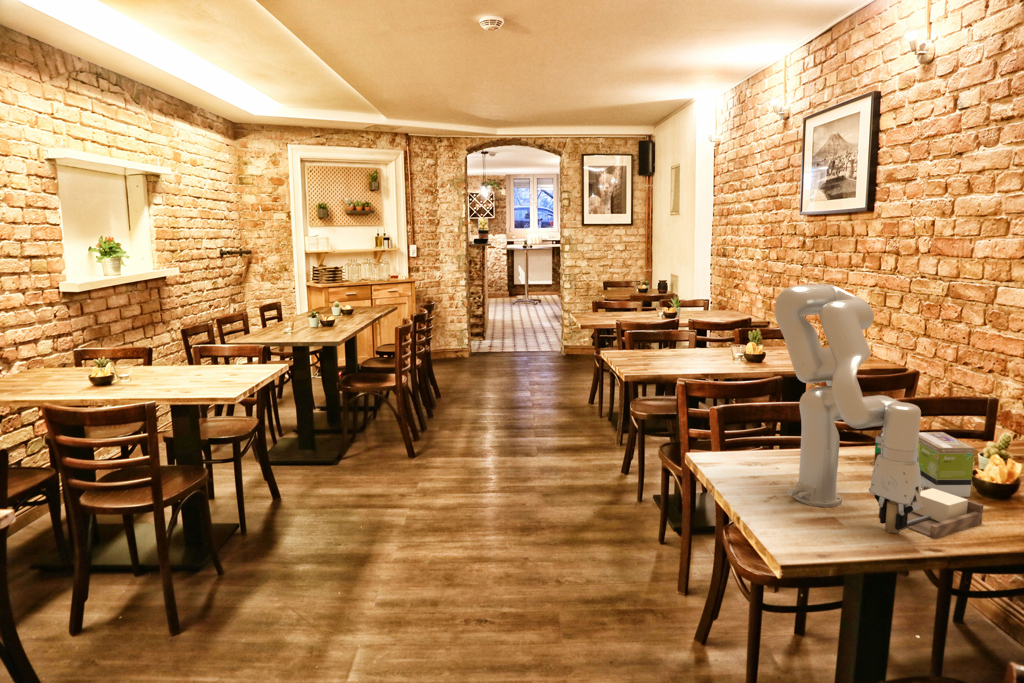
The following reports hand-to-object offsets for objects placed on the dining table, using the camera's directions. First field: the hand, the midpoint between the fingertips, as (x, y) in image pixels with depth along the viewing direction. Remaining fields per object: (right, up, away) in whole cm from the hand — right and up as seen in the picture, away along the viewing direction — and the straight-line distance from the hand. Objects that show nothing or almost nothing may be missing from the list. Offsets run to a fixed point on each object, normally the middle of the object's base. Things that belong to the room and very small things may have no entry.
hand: (892, 524), depth 163 cm
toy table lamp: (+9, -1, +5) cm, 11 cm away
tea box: (+29, +3, +29) cm, 41 cm away
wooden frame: (+13, -1, +6) cm, 14 cm away
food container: (+27, +6, +50) cm, 57 cm away
